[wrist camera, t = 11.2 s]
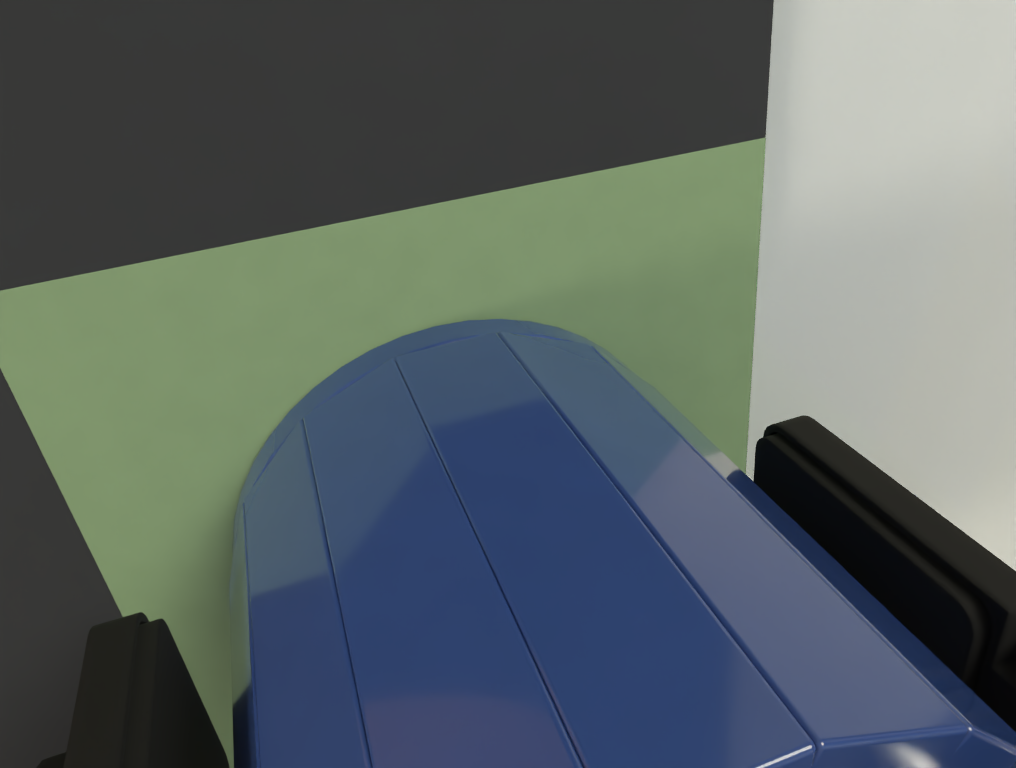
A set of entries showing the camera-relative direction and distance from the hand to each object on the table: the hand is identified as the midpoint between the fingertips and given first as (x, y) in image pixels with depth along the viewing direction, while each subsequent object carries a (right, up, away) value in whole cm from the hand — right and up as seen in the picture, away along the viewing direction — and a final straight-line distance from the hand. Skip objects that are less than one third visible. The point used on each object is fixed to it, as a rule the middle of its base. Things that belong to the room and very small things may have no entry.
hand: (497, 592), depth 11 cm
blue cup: (0, +1, +1) cm, 2 cm away
